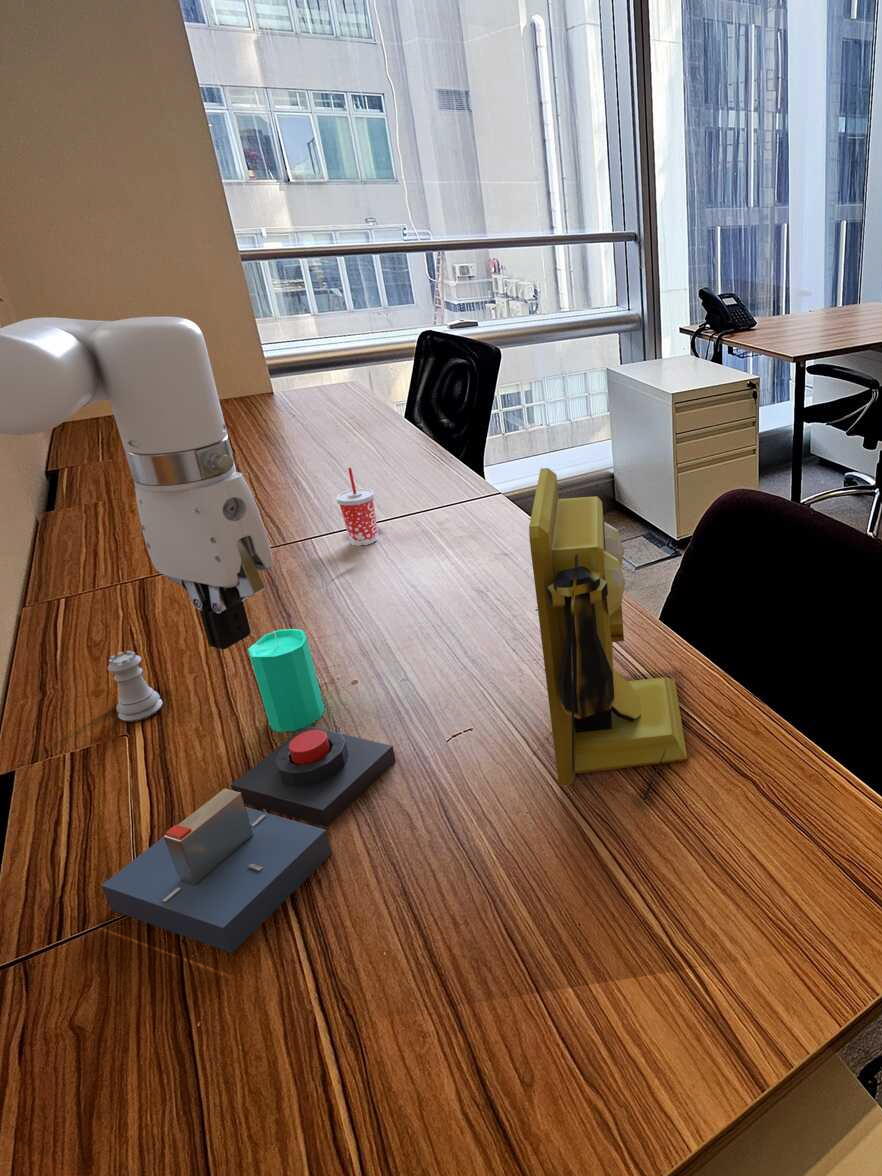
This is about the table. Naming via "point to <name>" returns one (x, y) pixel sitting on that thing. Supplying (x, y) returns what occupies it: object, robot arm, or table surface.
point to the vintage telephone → (592, 645)
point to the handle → (208, 835)
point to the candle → (287, 679)
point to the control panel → (222, 883)
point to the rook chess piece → (133, 688)
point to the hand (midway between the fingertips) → (230, 640)
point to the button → (309, 747)
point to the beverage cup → (359, 514)
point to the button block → (315, 778)
